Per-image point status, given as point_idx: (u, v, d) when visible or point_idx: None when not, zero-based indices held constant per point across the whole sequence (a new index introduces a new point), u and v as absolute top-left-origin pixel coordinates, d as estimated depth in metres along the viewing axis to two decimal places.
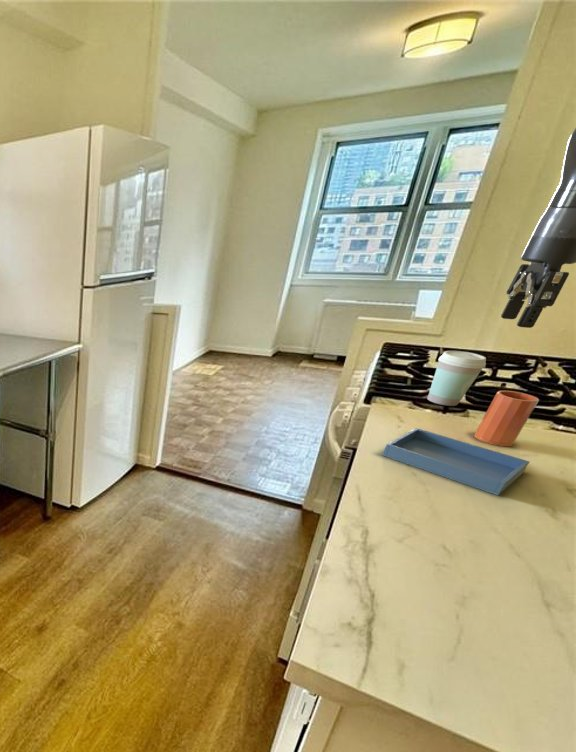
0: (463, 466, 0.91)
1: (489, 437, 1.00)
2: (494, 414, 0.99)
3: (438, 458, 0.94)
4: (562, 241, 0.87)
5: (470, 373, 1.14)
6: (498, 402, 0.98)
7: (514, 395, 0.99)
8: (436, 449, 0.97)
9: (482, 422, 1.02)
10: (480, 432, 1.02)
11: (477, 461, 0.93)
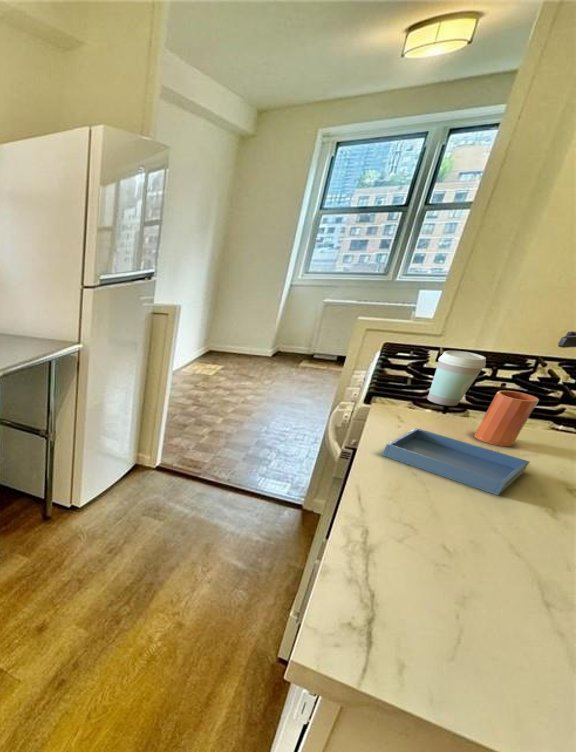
0: (463, 466, 0.91)
1: (489, 437, 1.00)
2: (494, 414, 0.99)
3: (438, 458, 0.94)
4: None
5: (470, 373, 1.14)
6: (498, 402, 0.98)
7: (514, 395, 0.99)
8: (436, 449, 0.97)
9: (482, 422, 1.02)
10: (480, 432, 1.02)
11: (477, 461, 0.93)
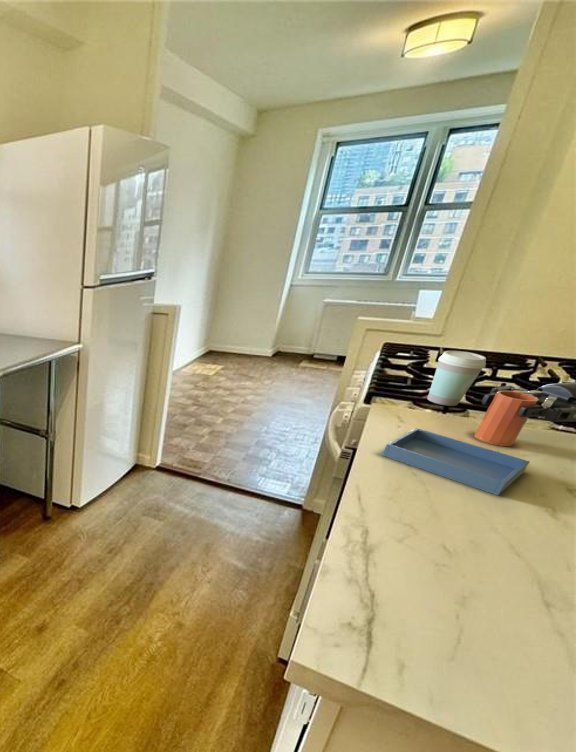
0: (463, 466, 0.91)
1: (489, 437, 1.00)
2: (494, 414, 0.99)
3: (438, 458, 0.94)
4: None
5: (470, 373, 1.14)
6: (498, 402, 0.98)
7: (514, 395, 0.99)
8: (436, 449, 0.97)
9: (482, 422, 1.02)
10: (480, 432, 1.02)
11: (477, 461, 0.93)
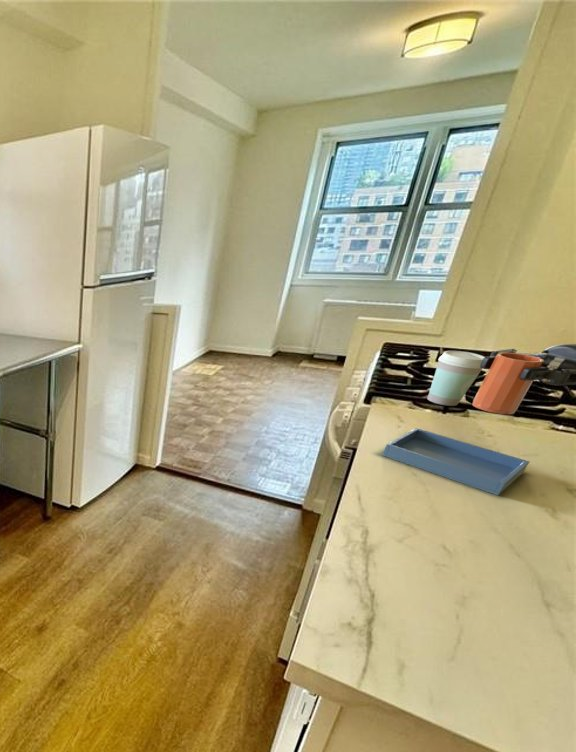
0: (463, 466, 0.91)
1: (489, 405, 0.90)
2: (494, 378, 0.89)
3: (438, 458, 0.94)
4: None
5: (470, 373, 1.14)
6: (498, 364, 0.88)
7: (517, 358, 0.89)
8: (436, 449, 0.97)
9: (481, 388, 0.91)
10: (478, 399, 0.92)
11: (477, 461, 0.93)
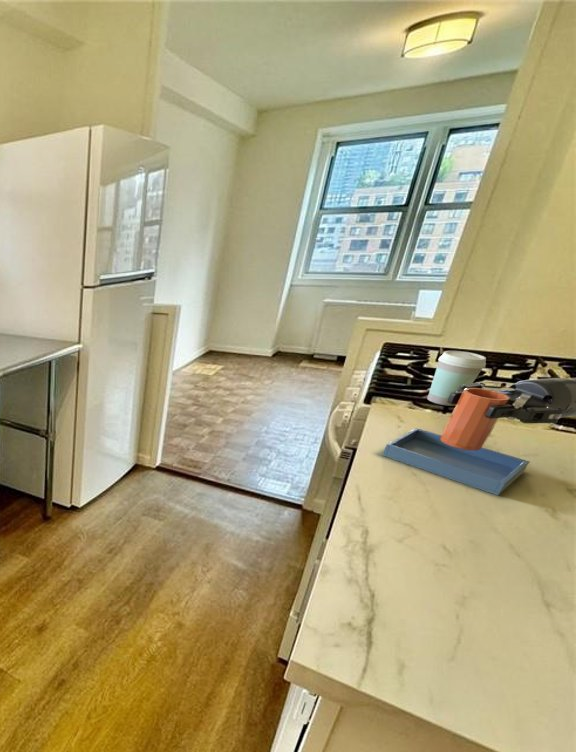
0: (463, 466, 0.91)
1: (455, 441, 0.89)
2: (460, 415, 0.88)
3: (438, 458, 0.94)
4: None
5: (470, 373, 1.14)
6: (464, 401, 0.87)
7: (483, 393, 0.88)
8: (436, 449, 0.97)
9: (448, 423, 0.91)
10: (446, 435, 0.91)
11: (477, 461, 0.93)
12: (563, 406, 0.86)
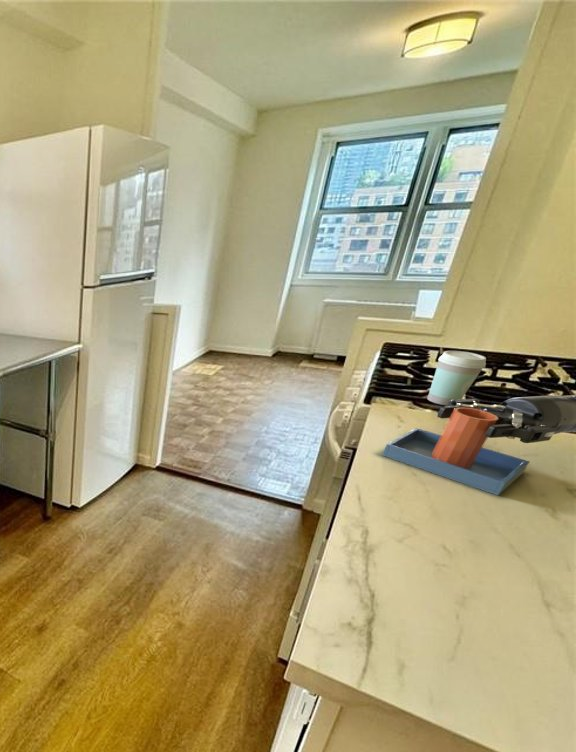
0: None
1: (446, 459, 0.91)
2: (450, 434, 0.90)
3: None
4: None
5: (470, 373, 1.14)
6: (454, 420, 0.89)
7: (473, 413, 0.90)
8: None
9: (438, 442, 0.92)
10: (436, 453, 0.92)
11: (477, 461, 0.93)
12: (553, 423, 0.87)
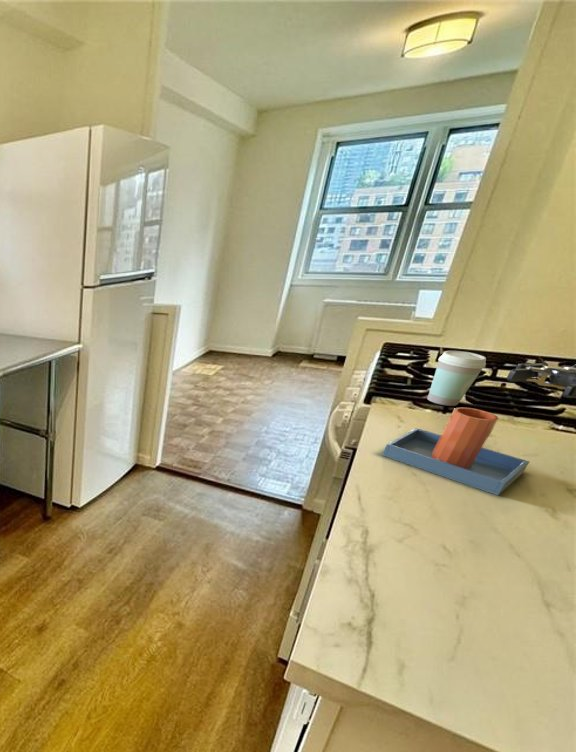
0: None
1: (446, 459, 0.91)
2: (450, 434, 0.90)
3: None
4: None
5: (470, 373, 1.14)
6: (454, 420, 0.89)
7: (473, 413, 0.90)
8: None
9: (438, 442, 0.92)
10: (436, 453, 0.92)
11: (477, 461, 0.93)
12: None
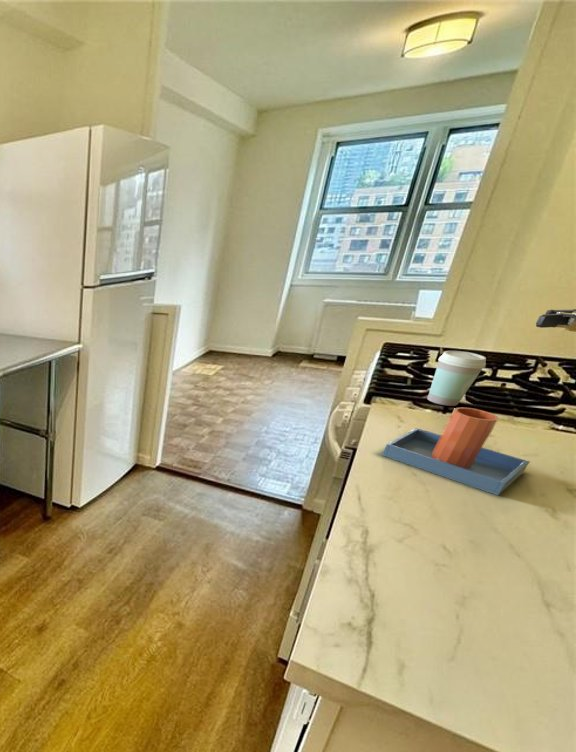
0: None
1: (446, 459, 0.91)
2: (450, 434, 0.90)
3: None
4: None
5: (470, 373, 1.14)
6: (454, 420, 0.89)
7: (473, 413, 0.90)
8: None
9: (438, 442, 0.92)
10: (436, 453, 0.92)
11: (477, 461, 0.93)
12: None
